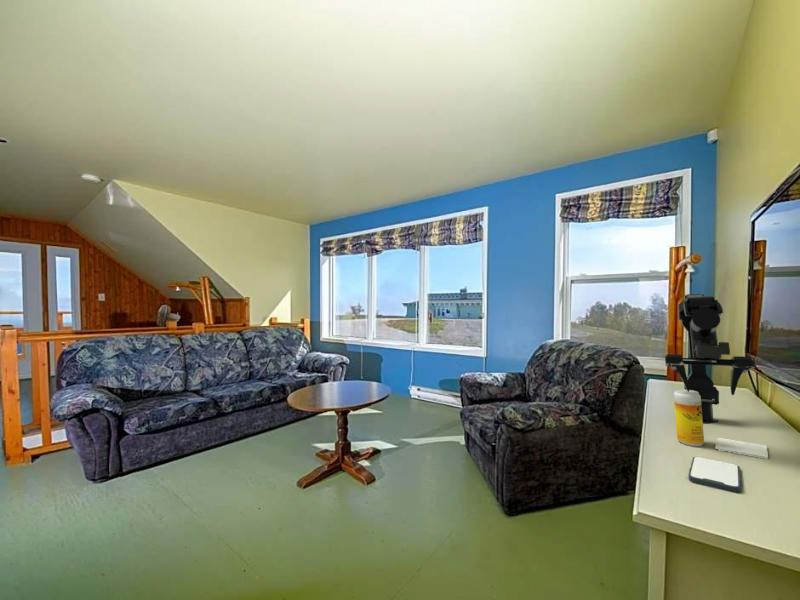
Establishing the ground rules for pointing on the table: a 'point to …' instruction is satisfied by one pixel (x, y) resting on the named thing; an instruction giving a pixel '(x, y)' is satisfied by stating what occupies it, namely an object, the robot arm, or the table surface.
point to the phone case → (715, 474)
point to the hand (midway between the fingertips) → (710, 393)
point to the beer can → (689, 417)
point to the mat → (742, 448)
